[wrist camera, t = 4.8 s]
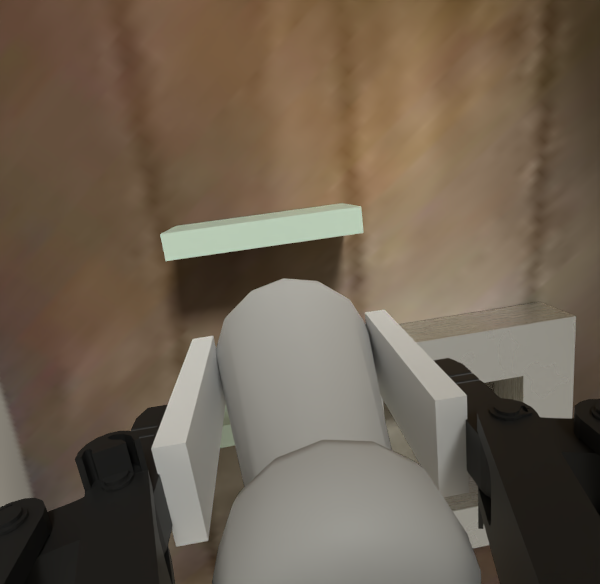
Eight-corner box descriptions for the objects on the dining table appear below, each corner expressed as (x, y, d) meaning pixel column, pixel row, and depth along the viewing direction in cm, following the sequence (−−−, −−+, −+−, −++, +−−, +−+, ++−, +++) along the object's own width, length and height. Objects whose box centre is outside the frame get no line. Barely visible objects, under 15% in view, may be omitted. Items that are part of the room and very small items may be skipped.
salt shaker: (290, 416, 19) (352, 845, 7) (193, 337, 18) (51, 701, 6) (382, 326, 19) (633, 626, 6) (288, 236, 17) (372, 396, 5)
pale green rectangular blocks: (175, 226, 22) (160, 234, 19) (342, 203, 23) (360, 206, 19) (212, 410, 25) (205, 450, 21) (360, 384, 26) (380, 419, 22)
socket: (313, 338, 25) (323, 362, 21) (539, 301, 26) (583, 319, 23) (338, 534, 28) (350, 581, 25) (536, 495, 29) (574, 535, 26)
